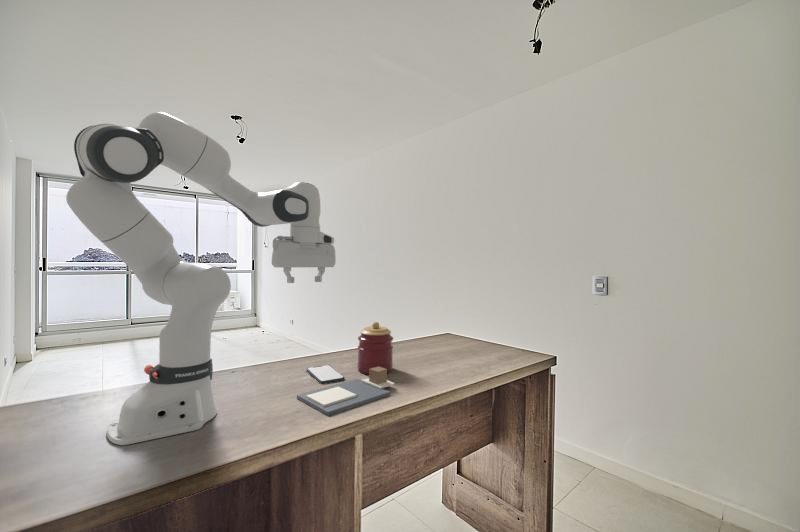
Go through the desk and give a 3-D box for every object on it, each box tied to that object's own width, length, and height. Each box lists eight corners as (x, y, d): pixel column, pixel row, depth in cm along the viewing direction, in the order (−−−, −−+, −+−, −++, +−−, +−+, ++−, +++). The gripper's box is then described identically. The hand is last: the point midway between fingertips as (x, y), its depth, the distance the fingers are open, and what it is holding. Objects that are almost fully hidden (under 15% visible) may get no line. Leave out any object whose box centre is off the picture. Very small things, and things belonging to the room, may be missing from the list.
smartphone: (346, 382, 124) (328, 368, 137) (346, 377, 124) (328, 364, 137) (320, 386, 119) (305, 372, 133) (320, 381, 119) (305, 367, 133)
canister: (376, 362, 145) (377, 317, 145) (400, 370, 136) (400, 322, 136) (350, 369, 136) (350, 321, 135) (373, 377, 127) (374, 326, 126)
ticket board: (328, 415, 96) (328, 409, 96) (296, 398, 107) (296, 392, 107) (390, 394, 111) (390, 389, 111) (357, 381, 122) (357, 376, 122)
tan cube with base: (380, 388, 113) (380, 374, 113) (361, 381, 119) (361, 367, 119) (394, 384, 117) (394, 370, 117) (375, 377, 123) (376, 364, 123)
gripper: (278, 234, 104) (277, 284, 104) (338, 238, 118) (338, 281, 118) (267, 235, 108) (267, 283, 108) (327, 239, 122) (326, 280, 123)
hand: (304, 282), depth 113 cm, fingers open, 8 cm apart
